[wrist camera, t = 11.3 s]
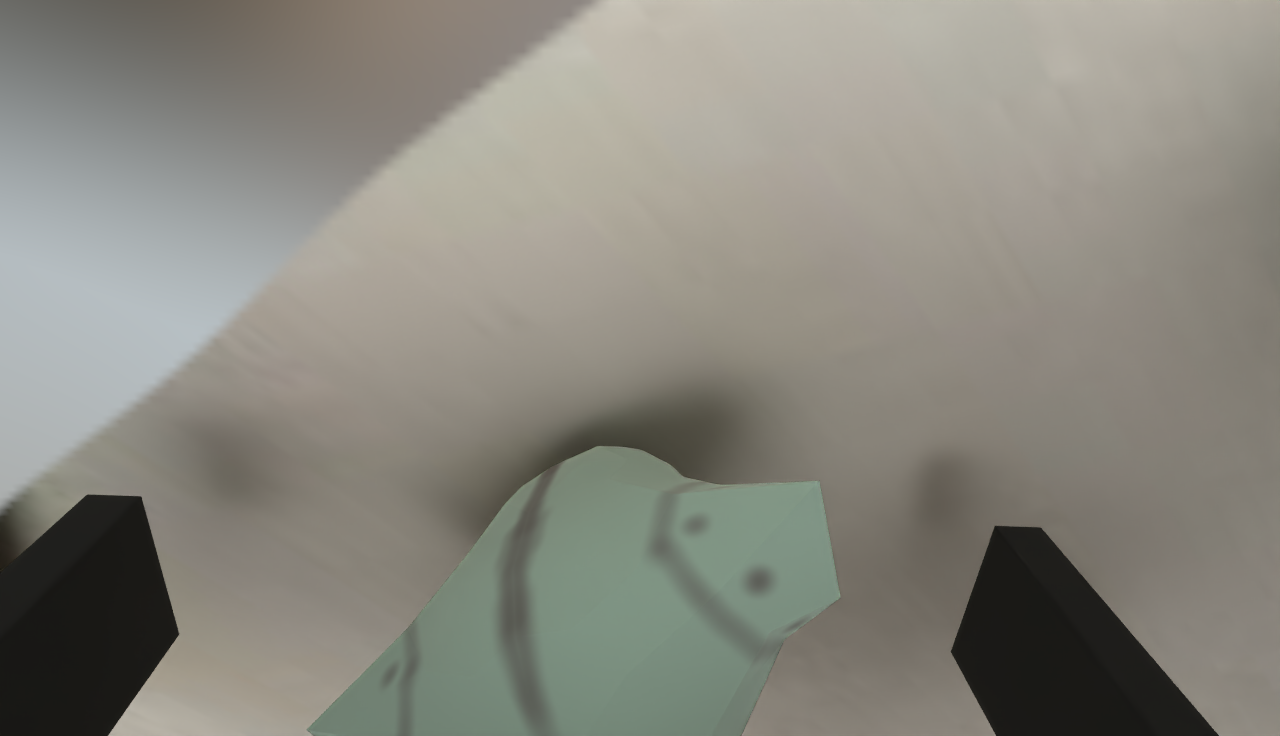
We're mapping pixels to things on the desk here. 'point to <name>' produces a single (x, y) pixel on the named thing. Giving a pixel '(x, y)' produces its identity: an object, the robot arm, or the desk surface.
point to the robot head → (606, 610)
